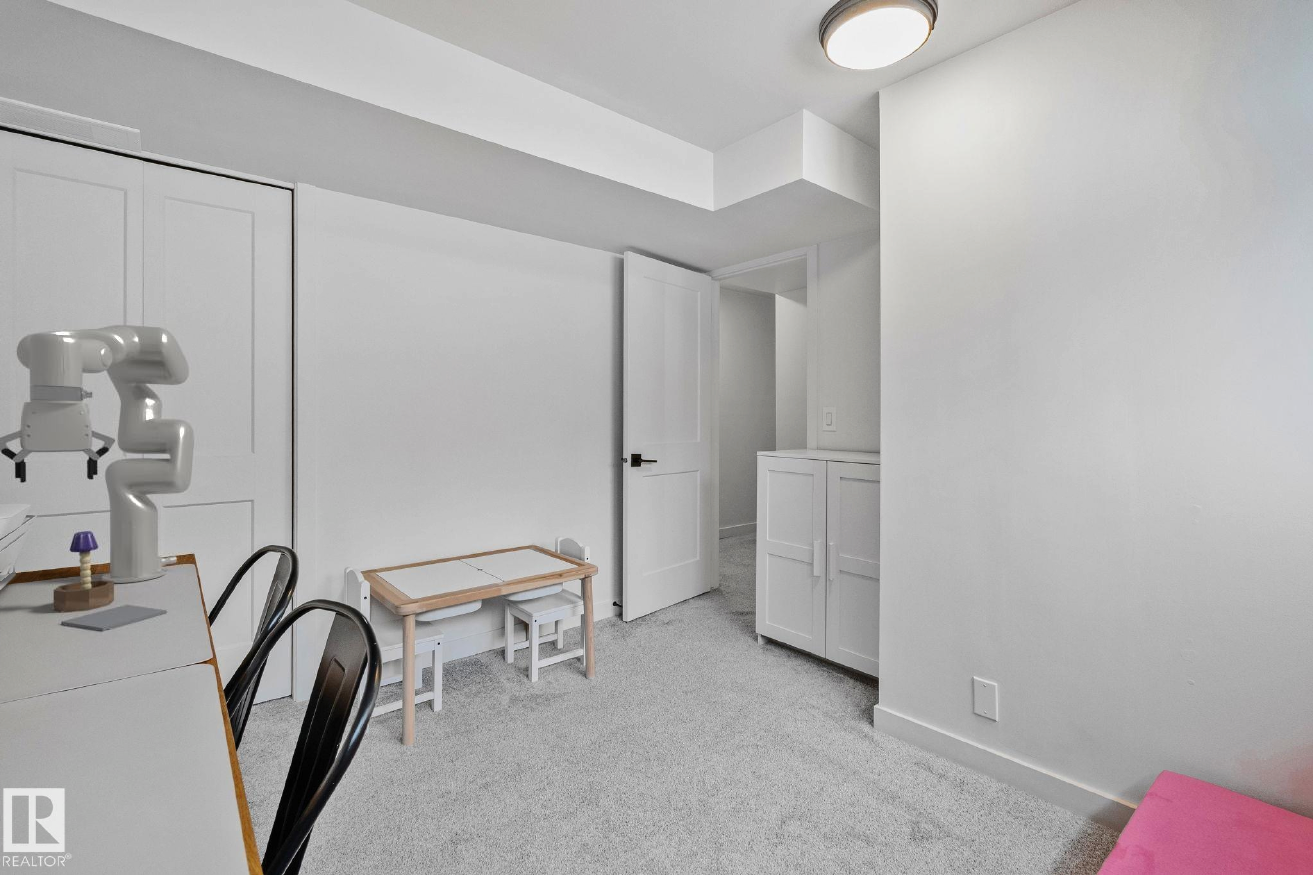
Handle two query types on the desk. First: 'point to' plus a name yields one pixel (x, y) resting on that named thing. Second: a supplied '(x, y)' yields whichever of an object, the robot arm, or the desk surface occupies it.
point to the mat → (114, 617)
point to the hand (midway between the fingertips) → (57, 480)
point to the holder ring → (83, 596)
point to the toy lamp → (84, 554)
